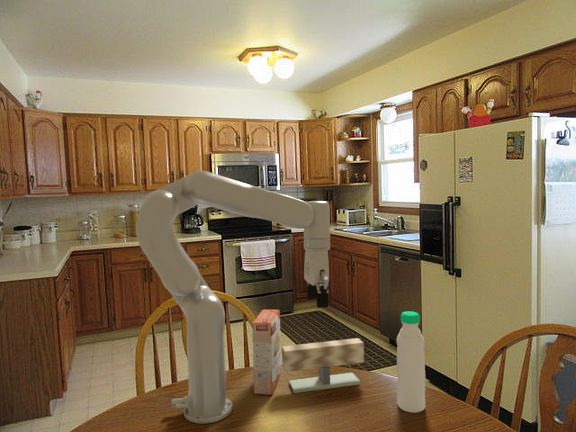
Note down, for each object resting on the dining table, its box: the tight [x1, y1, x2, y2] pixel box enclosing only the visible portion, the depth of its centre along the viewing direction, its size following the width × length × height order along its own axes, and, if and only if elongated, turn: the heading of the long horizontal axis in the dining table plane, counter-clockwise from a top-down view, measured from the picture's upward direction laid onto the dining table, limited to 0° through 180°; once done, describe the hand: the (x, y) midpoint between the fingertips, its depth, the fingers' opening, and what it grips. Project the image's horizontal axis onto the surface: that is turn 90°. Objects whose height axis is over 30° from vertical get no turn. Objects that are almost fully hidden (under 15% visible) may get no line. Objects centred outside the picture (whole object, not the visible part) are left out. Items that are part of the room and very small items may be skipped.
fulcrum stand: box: [288, 367, 361, 394], centre depth 123 cm, size 20×6×6 cm, turn 102°
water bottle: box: [396, 311, 426, 414], centre depth 108 cm, size 7×7×25 cm
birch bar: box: [281, 337, 365, 373], centre depth 122 cm, size 24×4×6 cm, turn 102°
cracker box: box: [252, 309, 282, 396], centre depth 123 cm, size 14×6×21 cm, turn 171°
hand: (317, 302), depth 120 cm, fingers open, 9 cm apart
